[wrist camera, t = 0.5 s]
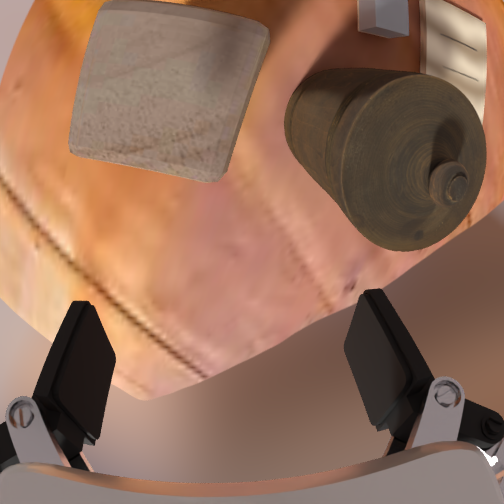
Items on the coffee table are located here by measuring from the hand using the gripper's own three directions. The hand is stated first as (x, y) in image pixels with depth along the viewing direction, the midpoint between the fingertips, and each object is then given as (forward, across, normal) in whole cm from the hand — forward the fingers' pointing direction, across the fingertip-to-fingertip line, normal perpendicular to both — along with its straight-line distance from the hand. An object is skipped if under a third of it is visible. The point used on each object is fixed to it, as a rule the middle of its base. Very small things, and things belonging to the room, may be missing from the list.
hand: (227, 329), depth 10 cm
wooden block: (+29, +3, -8) cm, 30 cm away
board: (+29, -32, -13) cm, 45 cm away
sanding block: (+29, -18, -20) cm, 40 cm away
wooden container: (+29, -15, -3) cm, 33 cm away
